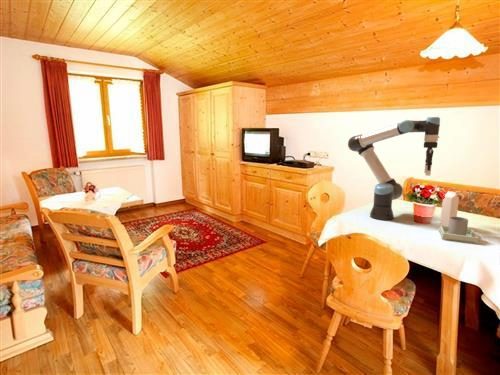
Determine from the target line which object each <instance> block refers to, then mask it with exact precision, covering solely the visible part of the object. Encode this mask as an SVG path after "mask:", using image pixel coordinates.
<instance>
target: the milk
mask: <svg viewBox="0 0 500 375" xmlns="http://www.w3.org/2000/svg"><path fill="white" fill-rule="evenodd" d="M444 195H445V198H444V199H443V198H442V203H441V204H442V205H441V212H440V213H441V214H440V219H439V220H440V222H439V225H441V226H449V225H450V217H458V210H459V200H460V197H459V195H457V192H455V191H451V190H450V191H449V190H447V192H446V193H445V194H444Z"/></svg>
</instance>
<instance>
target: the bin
mask: <svg viewBox="0 0 500 375" xmlns="http://www.w3.org/2000/svg"><path fill="white" fill-rule="evenodd" d="M438 231H439V235H440V237H441V240H443V241H450V242H460V243H467V244H475V245H478V244H479V236H478V235H477V233H476V232H475V231H474V229H473V228H467V233H466V236H464V235H456V234H448V233H449V226H444V225H441V224H439V230H438Z"/></svg>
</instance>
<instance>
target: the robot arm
mask: <svg viewBox="0 0 500 375" xmlns="http://www.w3.org/2000/svg"><path fill="white" fill-rule="evenodd" d="M440 123H441V118H440V117H439V116H430V117H426V119H425V120H412V119H411V120H410V119H406V120H402V121H401V122H399V123H396V124H393V125H389V126H387V127H383V128H381V129H378V130H375V131H372V132H369V133H366V134H361V133H360V134H358V135H353V136H352V137H350V138H349V139H348V140H347V147H348V149H349V150H351V151H352V152H355V153H358V155H359V156H360V157H362V158H363V159H364V161H365V163H366V164H367V165H368V167H369V169H370V171H371V172H372V174H373V176H374V177H375V179H376V181H377V182H378V184H376V185H374V192H373V206H372V208H371V211H370V213H369V218H372V219H374V220H378V221H392V220H394V211H393V208H392V206H393V205H392V204H393V200H397V199H399V198H401V197H402V195H403V193H404V188H403V186H402V185H401V184H400V183H399V182H397V181H396V179H395V178H392V177H391V176H390V174H389V173H388V171H387V170H386V168H385V166H384V165H383V163H382V162H381V160H380V159H379V157H378V155H377V154H376V152H375V151H374V150H375V147H374V144H375V143H378V142H382V141H385V140H388V139H392V138H394V137H397V136H398V137H399V136H400V135H401V136H402V135H406V134H407V133H424V139H423V141H424V142H423V148H426V150H425V161H424V164H425V165H424V172H423V173H425V176H428V177H431V174H432V173H431V171H432V164H433V157H434V149H437V148H438V141H439V138H440V136H439V132H440V126H441V125H440Z"/></svg>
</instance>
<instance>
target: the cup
mask: <svg viewBox="0 0 500 375" xmlns="http://www.w3.org/2000/svg"><path fill="white" fill-rule="evenodd" d="M468 224H469V219H468V218H465V217H460V216H457V217H450V225H449V233H448V234H456V235H464V236H466V233H467V229H468V226H469V225H468Z"/></svg>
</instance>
